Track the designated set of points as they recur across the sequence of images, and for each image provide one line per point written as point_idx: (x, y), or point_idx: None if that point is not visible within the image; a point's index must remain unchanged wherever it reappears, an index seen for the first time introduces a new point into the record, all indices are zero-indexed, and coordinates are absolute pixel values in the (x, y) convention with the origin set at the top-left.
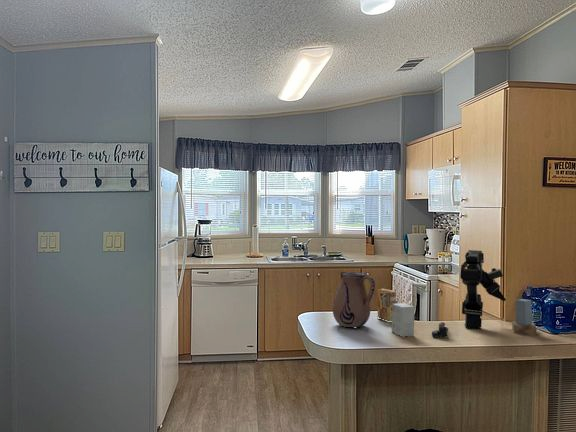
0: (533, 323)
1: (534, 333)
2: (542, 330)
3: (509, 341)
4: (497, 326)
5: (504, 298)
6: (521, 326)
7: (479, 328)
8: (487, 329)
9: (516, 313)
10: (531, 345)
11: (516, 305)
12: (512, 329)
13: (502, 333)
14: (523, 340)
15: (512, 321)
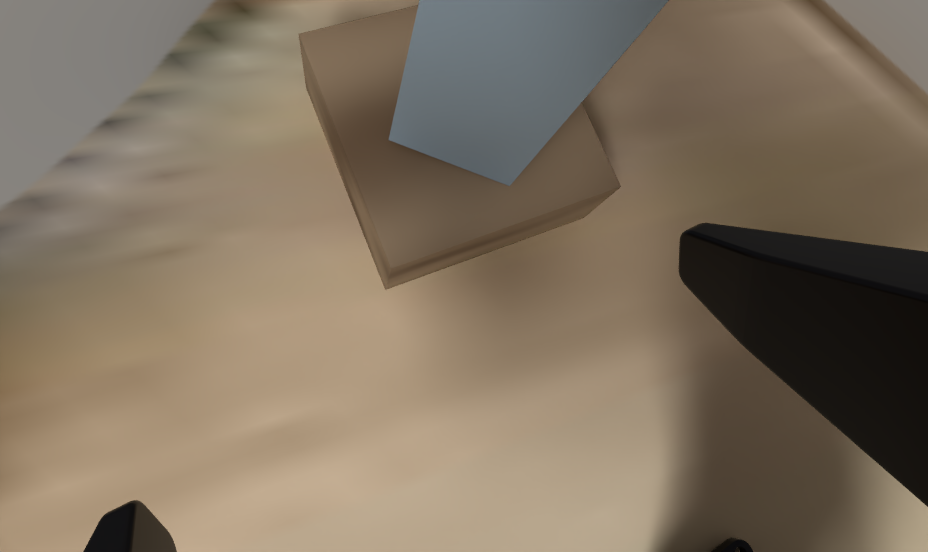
0: (329, 32)
1: None
2: (210, 19)
3: (884, 175)
4: (412, 457)
5: (756, 241)
6: (587, 117)
7: (750, 550)
8: (654, 485)
9: (558, 126)
10: (844, 24)
11: (626, 46)
12: (432, 272)
13: (685, 301)
14: (760, 95)
15: (414, 258)
